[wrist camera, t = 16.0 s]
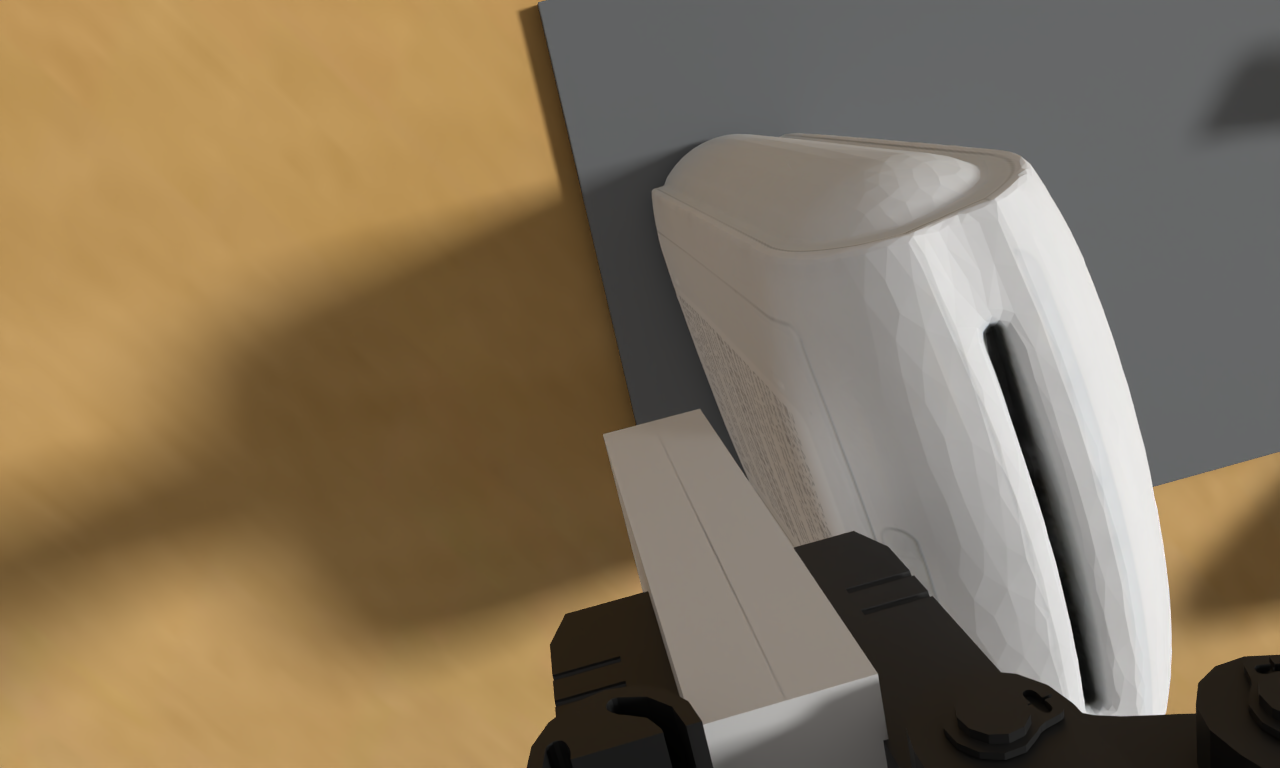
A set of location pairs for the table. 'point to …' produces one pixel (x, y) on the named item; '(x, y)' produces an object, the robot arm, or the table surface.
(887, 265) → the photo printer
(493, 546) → the table surface
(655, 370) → the mat
